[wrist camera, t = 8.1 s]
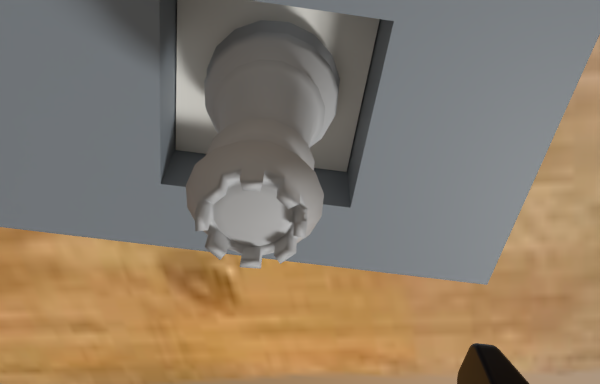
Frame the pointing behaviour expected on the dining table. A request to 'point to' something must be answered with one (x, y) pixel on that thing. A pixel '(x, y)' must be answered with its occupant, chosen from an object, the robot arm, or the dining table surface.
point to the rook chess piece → (263, 141)
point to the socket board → (326, 152)
